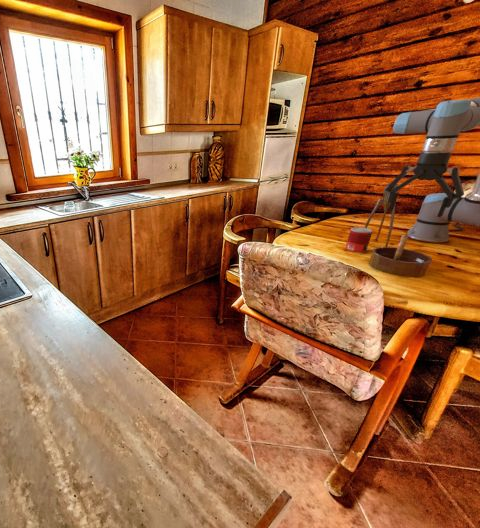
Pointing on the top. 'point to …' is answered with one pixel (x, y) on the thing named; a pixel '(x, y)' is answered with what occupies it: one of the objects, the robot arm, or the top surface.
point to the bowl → (400, 262)
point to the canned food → (358, 239)
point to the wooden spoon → (400, 247)
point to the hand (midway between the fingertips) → (413, 213)
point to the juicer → (386, 204)
